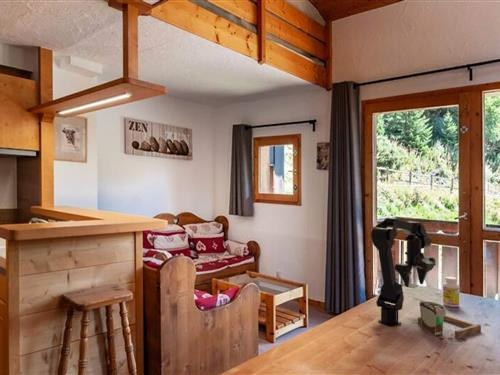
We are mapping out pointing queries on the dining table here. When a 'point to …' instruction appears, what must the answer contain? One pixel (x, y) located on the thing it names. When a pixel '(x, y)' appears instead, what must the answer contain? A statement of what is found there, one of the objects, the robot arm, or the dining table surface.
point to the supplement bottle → (451, 292)
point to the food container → (432, 317)
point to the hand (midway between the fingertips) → (414, 285)
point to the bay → (465, 331)
